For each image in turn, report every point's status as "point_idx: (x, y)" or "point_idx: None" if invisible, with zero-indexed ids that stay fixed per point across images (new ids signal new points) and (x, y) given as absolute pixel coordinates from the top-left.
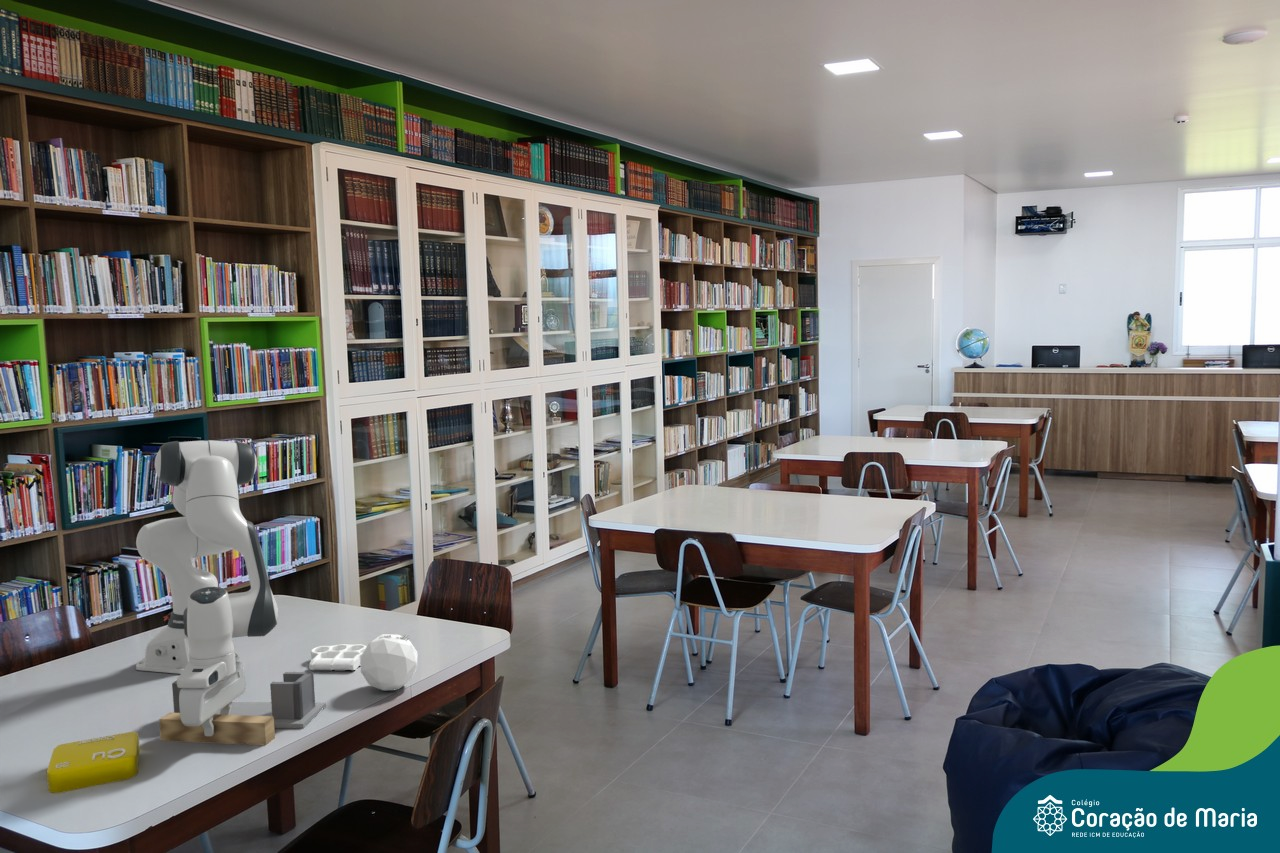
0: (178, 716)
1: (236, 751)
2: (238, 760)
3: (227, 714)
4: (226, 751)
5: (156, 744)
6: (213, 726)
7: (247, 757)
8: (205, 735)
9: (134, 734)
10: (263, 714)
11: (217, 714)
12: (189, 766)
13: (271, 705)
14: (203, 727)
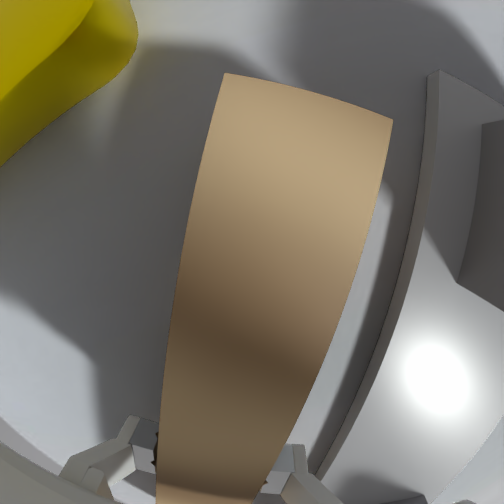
0: (270, 251)
1: None
2: None
3: (285, 498)
4: None
5: (186, 120)
6: (131, 471)
7: None
8: (129, 416)
9: (34, 47)
10: (390, 480)
11: (258, 488)
12: (12, 355)
13: (455, 462)
14: (107, 442)
